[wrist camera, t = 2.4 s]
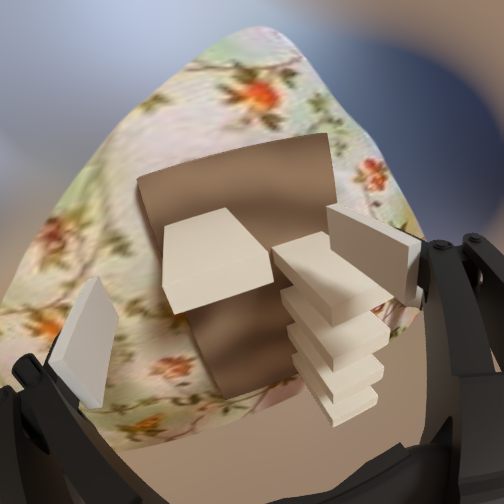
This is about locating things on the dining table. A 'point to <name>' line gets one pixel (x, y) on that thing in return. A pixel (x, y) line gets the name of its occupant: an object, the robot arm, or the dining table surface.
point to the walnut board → (263, 230)
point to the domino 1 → (211, 260)
